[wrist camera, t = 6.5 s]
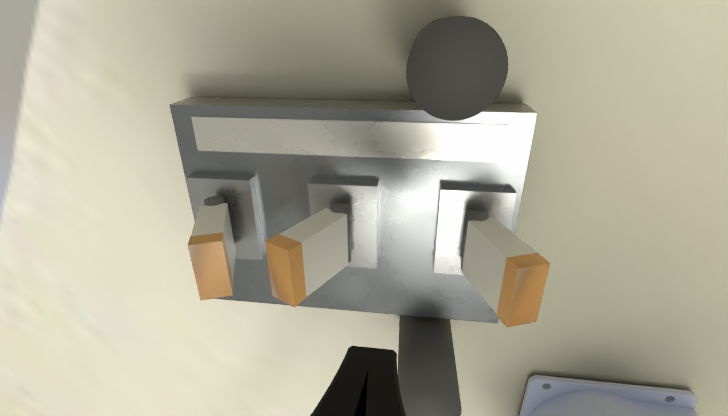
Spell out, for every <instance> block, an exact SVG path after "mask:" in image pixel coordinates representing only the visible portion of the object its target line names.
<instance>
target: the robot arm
mask: <svg viewBox="0 0 728 416" xmlns="http://www.w3.org/2000/svg"><path fill="white" fill-rule="evenodd" d="M396 358H397V353H396V352H395V351H394V350H387V349H378V348H368V347H358V346H351V347H350V348H348V351H347V353H346V355H345V358H344V360H343V362H342V364H341V366H340V368H339V370H338V372H337V373H336V375H335V377H334V379H333V380H332V382H331V384H330V386H329V387H328V389H327V391H326V392H325V394H324V395H323V397H322V399H321V400H320V402H319V404H318V405H317V407H316V408H315V410H314V411H313V413H312V414H311V416H406V415H405V410H404V406H403V402H402V398H401V393H400V387H399V381H398V374H397V361H396ZM545 383H547V384H545ZM696 403H697V397H696V396H695V394H694V393H693V392H691V391H688V390H679V389H669V388H659V387H650V386H640V385H630V384H620V383H610V382H601V381H591V380H581V379H571V378H561V377H551V376H542V375H534V376H531V377H530V378H529V380H528V383H527V387H526V391H525V395H524V399H523V403H522V407H521V411H520V415H519V416H698V415H697V413H696V412H695V411H694V409H693V408H694V406H695V404H696Z"/></svg>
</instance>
